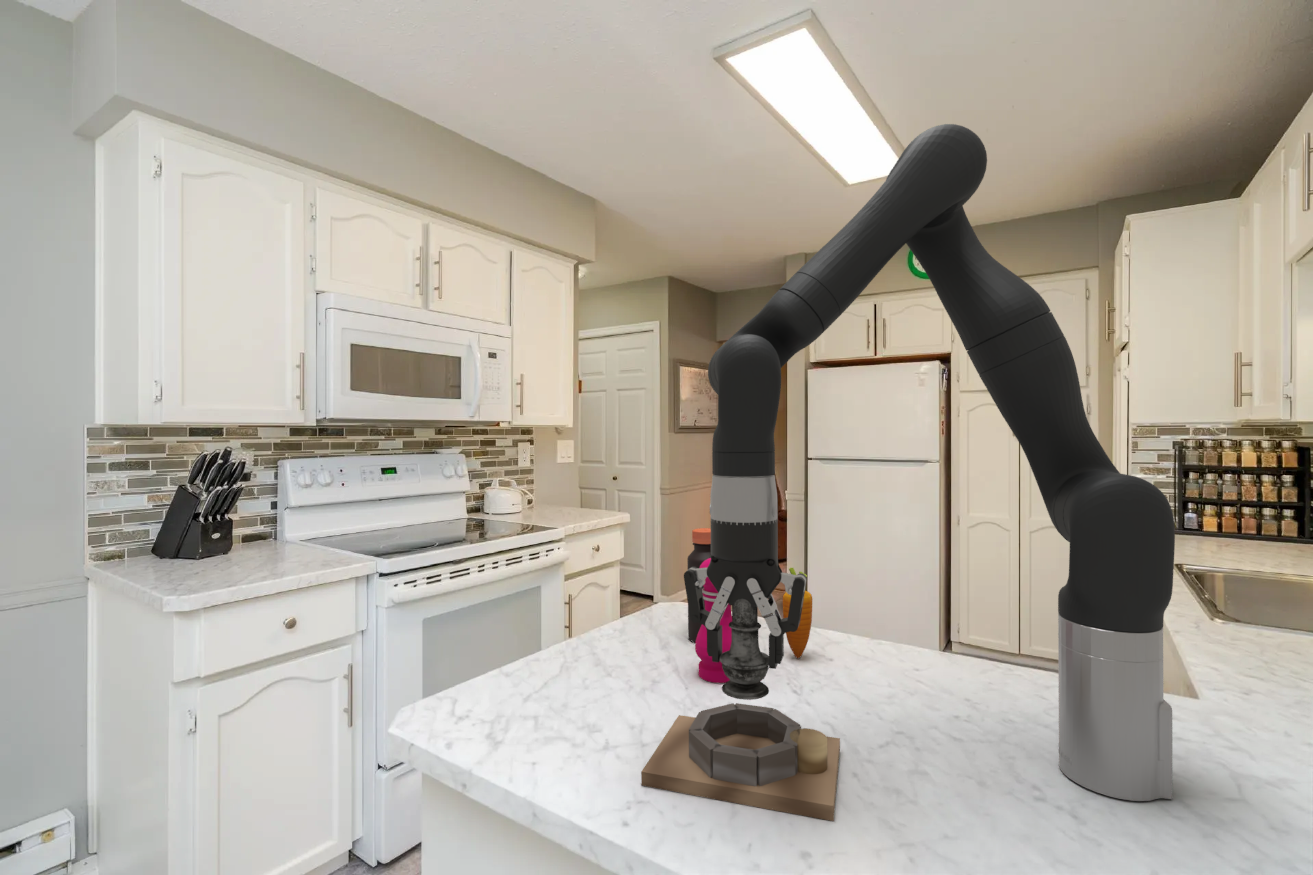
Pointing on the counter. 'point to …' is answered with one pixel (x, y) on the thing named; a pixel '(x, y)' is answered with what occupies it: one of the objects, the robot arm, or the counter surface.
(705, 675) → the pepper mill
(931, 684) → the counter surface
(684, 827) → the counter surface
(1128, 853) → the counter surface
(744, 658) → the salt shaker
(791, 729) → the board
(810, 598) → the carrot
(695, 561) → the bottle
